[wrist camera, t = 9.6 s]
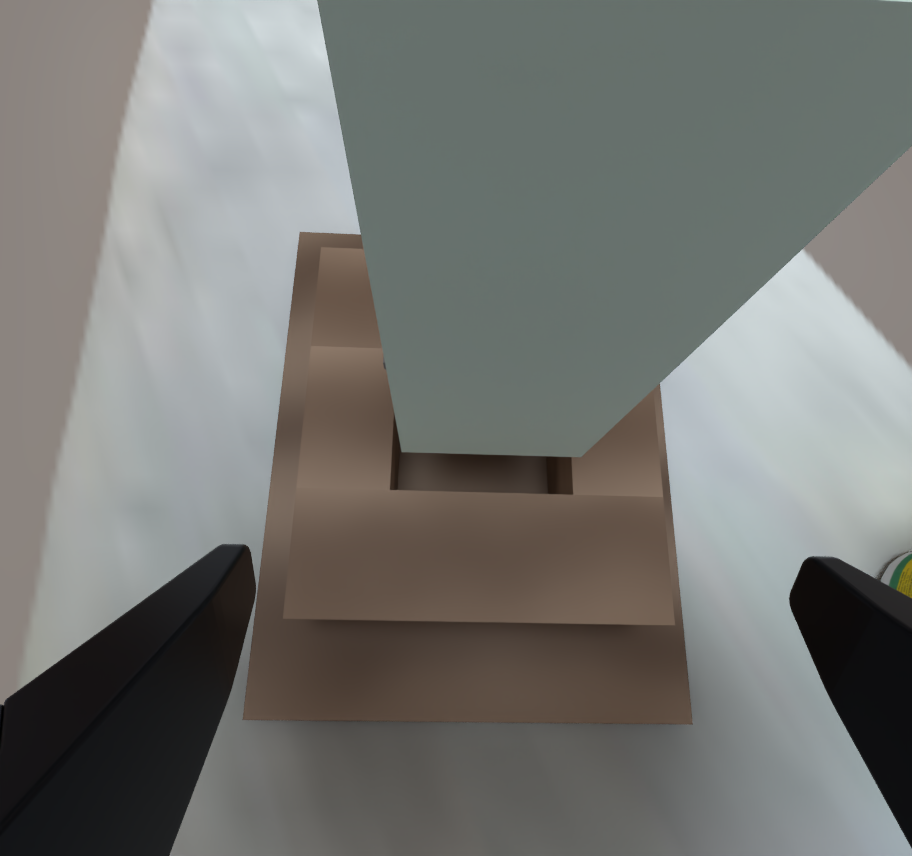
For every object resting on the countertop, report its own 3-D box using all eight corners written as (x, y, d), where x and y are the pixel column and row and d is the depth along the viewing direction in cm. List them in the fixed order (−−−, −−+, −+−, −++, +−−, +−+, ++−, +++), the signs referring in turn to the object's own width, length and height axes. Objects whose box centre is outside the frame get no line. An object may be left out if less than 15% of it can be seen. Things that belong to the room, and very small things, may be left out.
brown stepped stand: (685, 720, 21) (754, 753, 16) (247, 716, 20) (197, 748, 16) (641, 254, 27) (684, 186, 22) (302, 240, 26) (276, 167, 22)
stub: (581, 456, 16) (1055, 11, 4) (396, 451, 15) (289, -37, 4) (574, 323, 17) (916, -328, 5) (403, 317, 17) (339, -380, 5)
